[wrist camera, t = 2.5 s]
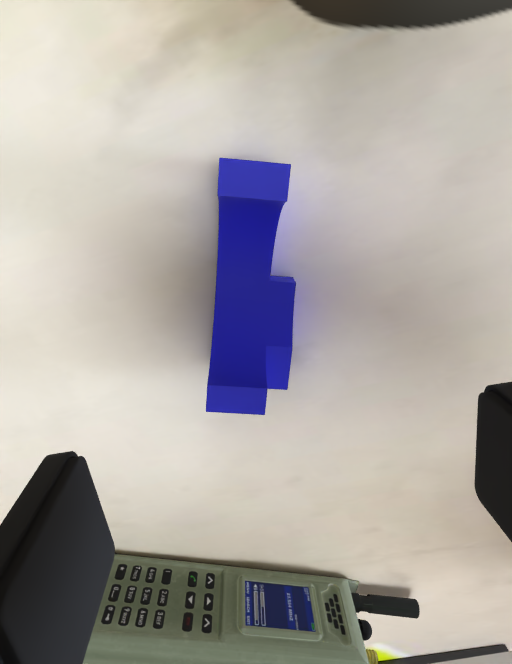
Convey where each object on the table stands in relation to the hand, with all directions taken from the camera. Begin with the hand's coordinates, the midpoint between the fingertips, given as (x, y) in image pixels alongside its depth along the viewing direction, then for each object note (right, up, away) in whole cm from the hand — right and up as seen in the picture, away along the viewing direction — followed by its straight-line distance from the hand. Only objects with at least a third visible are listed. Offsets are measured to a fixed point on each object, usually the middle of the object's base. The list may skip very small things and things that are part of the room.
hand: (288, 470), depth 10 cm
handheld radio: (0, -16, +24) cm, 29 cm away
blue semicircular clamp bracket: (-1, +7, +16) cm, 17 cm away
